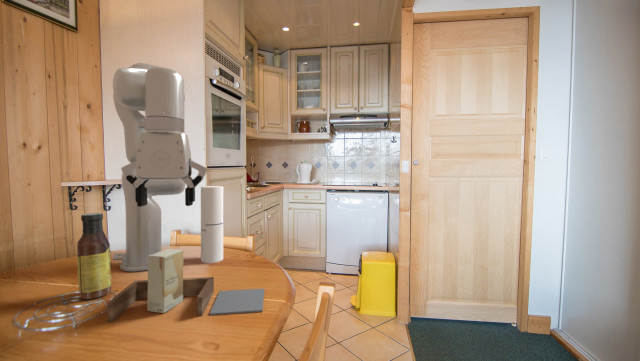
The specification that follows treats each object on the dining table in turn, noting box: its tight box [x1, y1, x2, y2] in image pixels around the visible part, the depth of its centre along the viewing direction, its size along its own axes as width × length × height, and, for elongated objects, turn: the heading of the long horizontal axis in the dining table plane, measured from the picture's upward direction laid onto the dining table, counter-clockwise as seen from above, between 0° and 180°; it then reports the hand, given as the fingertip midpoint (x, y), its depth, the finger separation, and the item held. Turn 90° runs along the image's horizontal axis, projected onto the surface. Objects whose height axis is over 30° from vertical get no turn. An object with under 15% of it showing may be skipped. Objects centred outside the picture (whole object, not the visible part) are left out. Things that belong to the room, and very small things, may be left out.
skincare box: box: [147, 248, 184, 314], centre depth 62 cm, size 6×4×12 cm
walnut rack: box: [106, 276, 215, 323], centre depth 62 cm, size 18×11×4 cm, turn 99°
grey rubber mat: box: [209, 288, 265, 316], centre depth 65 cm, size 11×11×1 cm
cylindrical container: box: [200, 185, 224, 264], centre depth 94 cm, size 7×7×25 cm
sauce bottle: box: [76, 212, 113, 300], centre depth 67 cm, size 7×6×20 cm
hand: (166, 205), depth 61 cm, fingers open, 9 cm apart
